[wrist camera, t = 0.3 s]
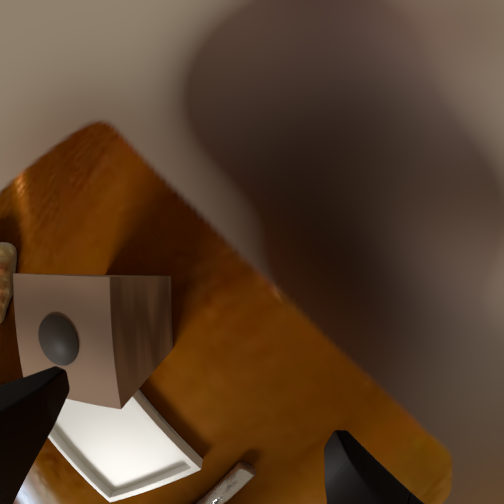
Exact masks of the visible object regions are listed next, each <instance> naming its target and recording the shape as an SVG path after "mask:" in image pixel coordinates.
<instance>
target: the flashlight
mask: <svg viewBox="0 0 504 504" xmlns="http://www.w3.org/2000/svg"><path fill="white" fill-rule="evenodd" d="M255 475H256V470H255V468H254V467H253V466H251V465H250V464H248V463H246V462H242V461H241V462H239V463H238V464H237V465H236V466H235V467H234V468H233V469H232V470H231V471H230V472H229V473H228V474H227V475H226V476H225V477H224V478H223V479H222V480H221V481H220V482H219V483H218V484H217V485H216V486H215V487H214V488H213V489H212V490H211V491H210V492H209V493H207V494H206V495H205V496H204V497H203V498H202V499H201V500H200V501H199V502H198V503H196V504H225V503H226V502H227V501H228V500H229V499H230V498H231V497H233V496H234V495H235V494H236V493H237V492H238V491H239V490H240V489H241V488H242V487H244V486H245V485H246V484H247V483H248V482H249V481H250V480H251V479H252V478H253V477H254V476H255Z"/></svg>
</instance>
